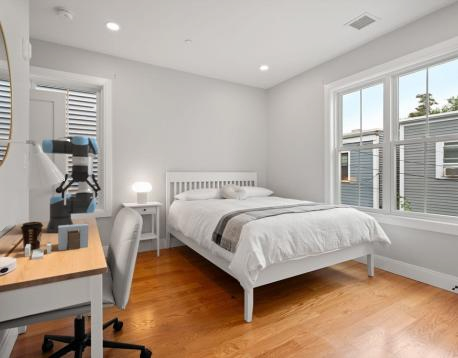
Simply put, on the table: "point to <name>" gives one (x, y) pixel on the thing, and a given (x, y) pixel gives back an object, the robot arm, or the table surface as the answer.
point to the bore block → (63, 229)
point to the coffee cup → (32, 234)
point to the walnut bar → (73, 239)
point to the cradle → (37, 251)
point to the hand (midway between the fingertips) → (79, 203)
